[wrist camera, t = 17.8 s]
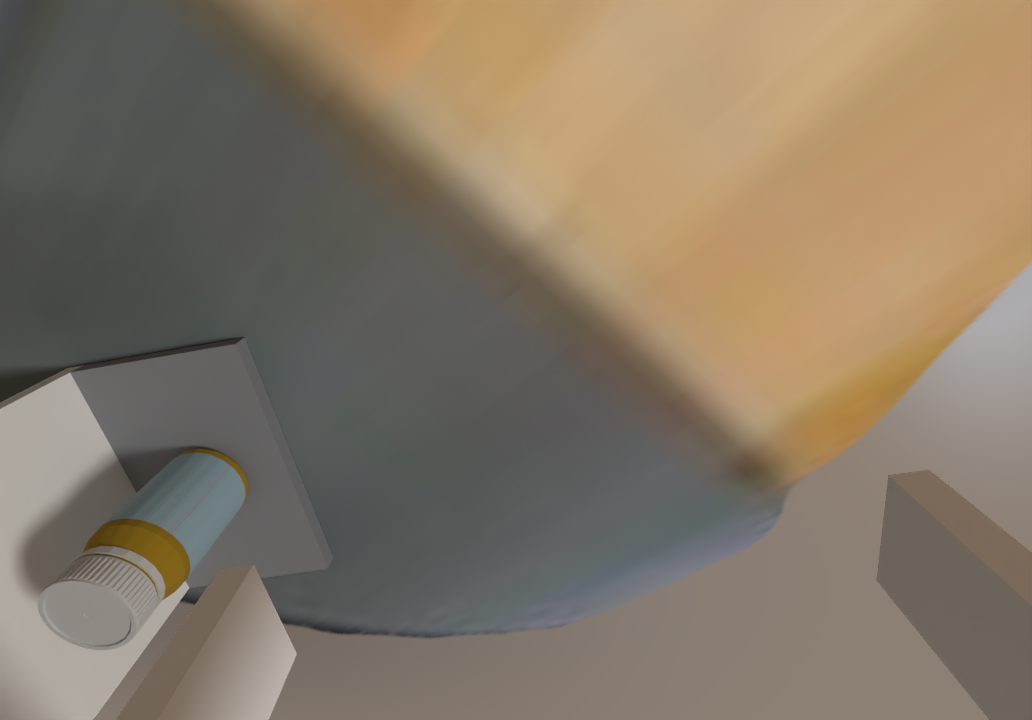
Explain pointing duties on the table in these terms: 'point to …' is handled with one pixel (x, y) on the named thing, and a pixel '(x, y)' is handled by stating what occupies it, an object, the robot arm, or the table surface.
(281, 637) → the robot arm
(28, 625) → the shelf unit
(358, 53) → the table surface
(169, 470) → the bottle
